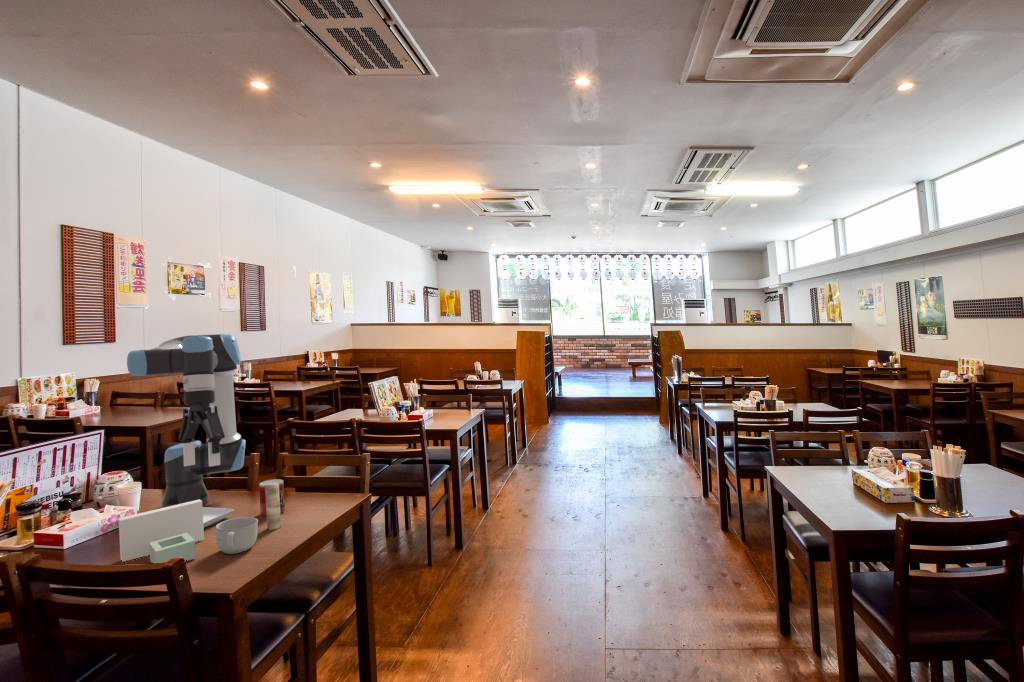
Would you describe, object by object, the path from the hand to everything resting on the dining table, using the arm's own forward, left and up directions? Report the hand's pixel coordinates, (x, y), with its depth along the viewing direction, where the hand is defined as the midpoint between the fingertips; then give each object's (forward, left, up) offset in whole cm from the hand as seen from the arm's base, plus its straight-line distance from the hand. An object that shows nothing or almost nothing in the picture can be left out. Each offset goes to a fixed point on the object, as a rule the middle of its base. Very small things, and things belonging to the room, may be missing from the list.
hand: (201, 465), depth 139 cm
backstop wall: (-17, -7, -26) cm, 32 cm away
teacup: (+3, +7, -26) cm, 27 cm away
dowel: (-8, +21, -26) cm, 34 cm away
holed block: (-5, -7, -26) cm, 27 cm away
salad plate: (-34, +2, -27) cm, 43 cm away
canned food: (-23, +26, -26) cm, 43 cm away
